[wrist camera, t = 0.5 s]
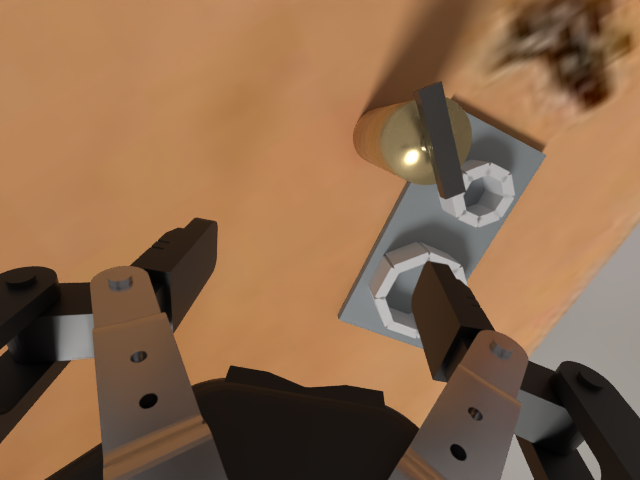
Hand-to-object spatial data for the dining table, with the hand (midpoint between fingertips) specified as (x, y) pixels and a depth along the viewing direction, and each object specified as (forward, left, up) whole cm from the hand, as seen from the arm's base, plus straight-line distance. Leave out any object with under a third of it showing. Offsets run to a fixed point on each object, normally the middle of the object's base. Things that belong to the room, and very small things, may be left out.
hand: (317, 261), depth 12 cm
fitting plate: (0, +15, -20) cm, 25 cm away
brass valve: (-7, +5, -20) cm, 21 cm away
